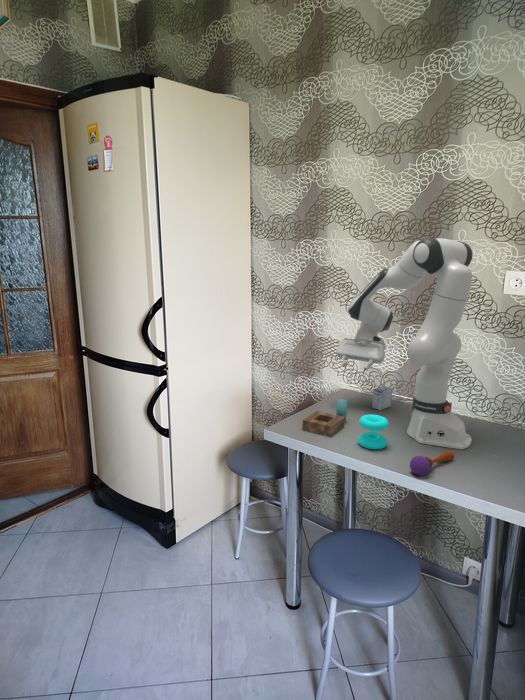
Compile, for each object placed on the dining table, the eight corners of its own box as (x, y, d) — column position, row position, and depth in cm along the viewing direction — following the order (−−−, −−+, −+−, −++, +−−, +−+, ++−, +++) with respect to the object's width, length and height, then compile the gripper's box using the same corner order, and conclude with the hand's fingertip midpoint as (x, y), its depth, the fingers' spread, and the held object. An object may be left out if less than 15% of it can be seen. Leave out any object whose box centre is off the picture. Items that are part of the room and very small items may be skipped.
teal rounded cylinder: (347, 421, 185) (348, 400, 183) (343, 424, 182) (344, 402, 180) (338, 419, 187) (339, 398, 185) (334, 422, 184) (335, 400, 182)
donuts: (383, 425, 155) (355, 419, 160) (381, 453, 157) (353, 446, 162) (392, 416, 163) (365, 411, 168) (390, 443, 165) (363, 436, 170)
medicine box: (382, 404, 206) (384, 385, 204) (391, 406, 203) (392, 387, 201) (371, 407, 201) (373, 388, 199) (380, 410, 198) (381, 391, 196)
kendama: (460, 452, 150) (425, 464, 138) (454, 467, 152) (419, 481, 140) (444, 442, 154) (409, 454, 142) (439, 457, 156) (403, 470, 144)
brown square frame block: (343, 426, 180) (344, 416, 179) (331, 436, 170) (331, 426, 169) (316, 420, 186) (316, 410, 185) (302, 429, 176) (302, 419, 175)
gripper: (340, 333, 199) (329, 359, 194) (386, 339, 189) (377, 367, 183) (343, 341, 204) (333, 367, 198) (389, 348, 193) (379, 375, 188)
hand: (354, 367), depth 191 cm, fingers open, 8 cm apart
